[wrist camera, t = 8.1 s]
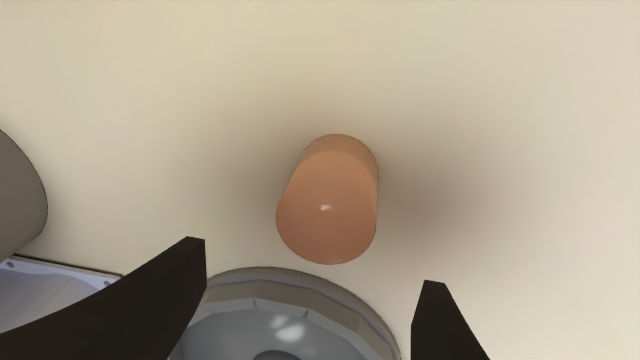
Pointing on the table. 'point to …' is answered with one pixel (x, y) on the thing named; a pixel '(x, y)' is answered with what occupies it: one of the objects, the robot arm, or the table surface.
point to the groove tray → (282, 320)
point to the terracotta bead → (330, 201)
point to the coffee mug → (18, 199)
